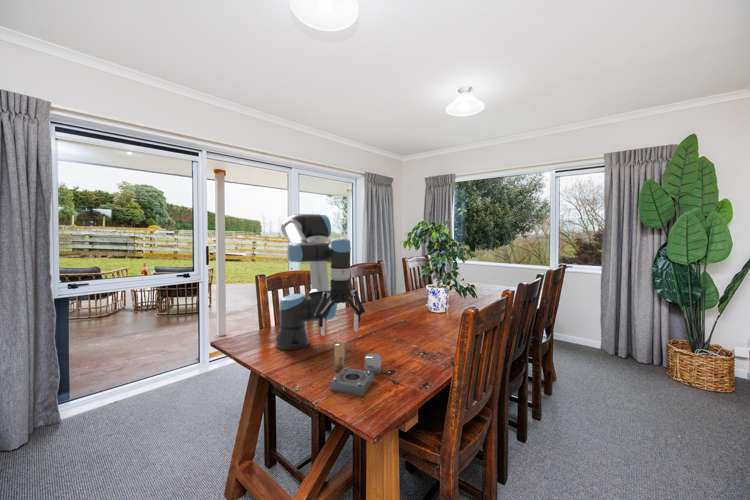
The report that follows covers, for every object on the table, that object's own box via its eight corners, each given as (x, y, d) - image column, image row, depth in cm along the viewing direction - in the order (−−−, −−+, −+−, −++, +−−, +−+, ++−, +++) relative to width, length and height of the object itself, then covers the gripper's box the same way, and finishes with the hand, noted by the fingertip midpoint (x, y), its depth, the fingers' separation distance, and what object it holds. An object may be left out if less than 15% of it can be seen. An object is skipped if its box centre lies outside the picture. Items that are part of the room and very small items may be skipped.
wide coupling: (362, 373, 123) (362, 358, 123) (367, 366, 130) (368, 352, 129) (377, 376, 121) (378, 360, 121) (382, 369, 127) (383, 354, 127)
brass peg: (332, 370, 126) (332, 345, 125) (336, 366, 129) (337, 341, 129) (341, 371, 124) (341, 346, 124) (345, 367, 128) (346, 343, 127)
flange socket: (329, 389, 110) (329, 379, 110) (344, 374, 122) (344, 365, 122) (362, 396, 107) (362, 386, 106) (373, 380, 118) (374, 370, 118)
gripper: (311, 282, 115) (310, 340, 117) (373, 278, 126) (372, 331, 128) (305, 279, 122) (305, 333, 124) (365, 276, 133) (365, 326, 134)
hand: (339, 332), depth 126 cm, fingers open, 13 cm apart
